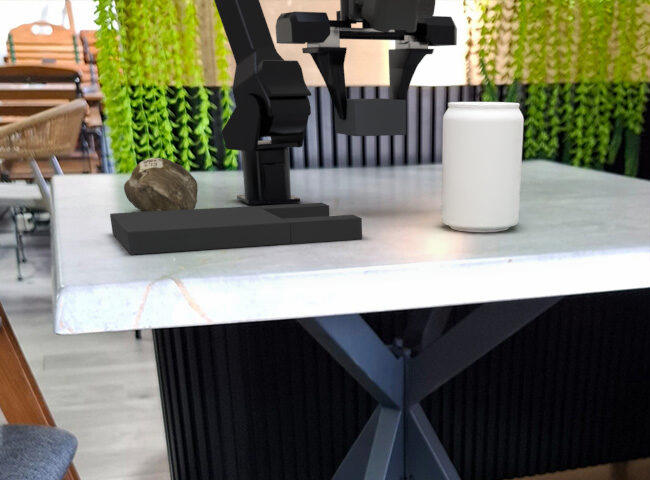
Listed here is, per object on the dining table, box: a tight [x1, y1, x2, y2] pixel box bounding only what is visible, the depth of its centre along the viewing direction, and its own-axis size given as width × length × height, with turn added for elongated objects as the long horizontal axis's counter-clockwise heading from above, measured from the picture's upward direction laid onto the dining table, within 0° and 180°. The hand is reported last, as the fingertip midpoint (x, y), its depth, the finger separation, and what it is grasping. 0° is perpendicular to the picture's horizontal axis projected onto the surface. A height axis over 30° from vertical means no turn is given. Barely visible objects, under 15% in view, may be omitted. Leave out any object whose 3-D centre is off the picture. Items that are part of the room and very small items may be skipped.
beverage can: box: [440, 101, 525, 233], centre depth 92 cm, size 8×8×12 cm
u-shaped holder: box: [109, 202, 363, 256], centre depth 88 cm, size 12×22×2 cm, turn 114°
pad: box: [334, 98, 407, 137], centre depth 98 cm, size 6×6×4 cm
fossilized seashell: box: [123, 157, 199, 212], centre depth 100 cm, size 8×7×10 cm
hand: (369, 119), depth 98 cm, fingers closed on pad, 6 cm apart
